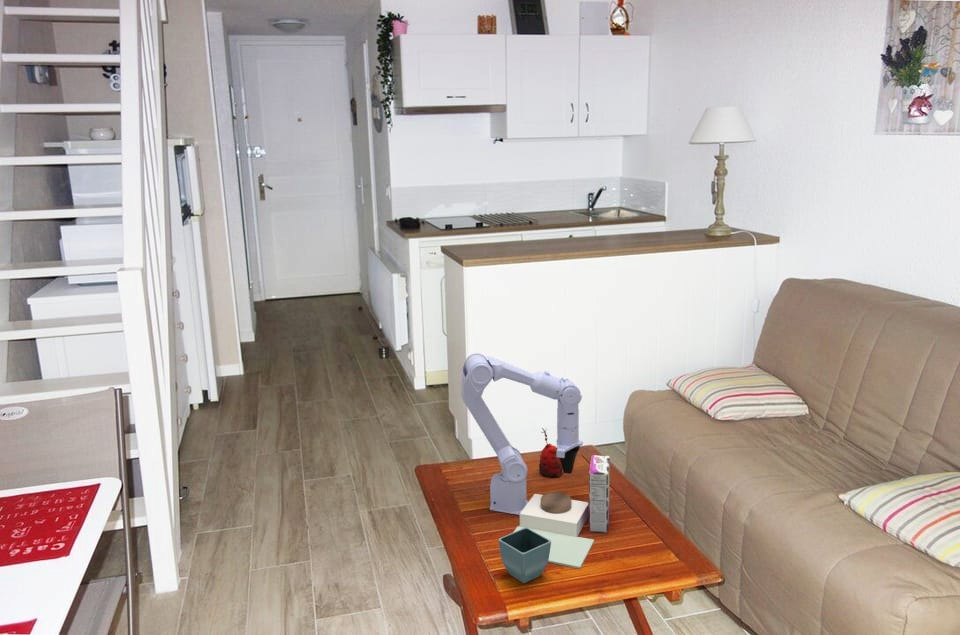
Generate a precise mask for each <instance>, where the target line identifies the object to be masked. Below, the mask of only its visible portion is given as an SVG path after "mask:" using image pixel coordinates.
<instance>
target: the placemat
mask: <svg viewBox="0 0 960 635" xmlns="http://www.w3.org/2000/svg"><path fill="white" fill-rule="evenodd" d="M522 528H525V527H522V526H520V525H517V526H516V528H515V530H514V531H513V532H515V531H518V530H520V529H522ZM526 528H527V527H526ZM529 529H531V530H532V531H534V532H536V533H538V534H540V535H541V536H543V537H545V538H547V539H549V540H551V547H550V554H549V560H548V563H549V564H555V565H559V566H564V567H570V568H575V569H578V570H579V569H581V568H582V566H583V564H584V562H585V560H586V558H587V556H588V555H589V553H590V550H591V549H592V547H593V544H594V543H595V539H592V538H587V537H580V536H578V537H576V536H571V535H565V534H560V533H554V532H549V531H544V530H538V529H533V528H529Z"/></svg>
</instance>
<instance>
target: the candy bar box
mask: <svg viewBox="0 0 960 635" xmlns="http://www.w3.org/2000/svg"><path fill="white" fill-rule="evenodd" d="M590 456H591V457H590V463H589V464H590V465H589V472H588V478H589V479H588V483H589V484H588V493H589V496H588V497H589V499H588V500H589V502H588V503H589V517H588V519H589V521H588V522H589V523H588V524H589V527H588V528H589V530H588V531H589V532H591V533H607V534H608V533H609V522H610V455H597V454H592V455H590Z"/></svg>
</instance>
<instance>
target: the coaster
mask: <svg viewBox="0 0 960 635" xmlns="http://www.w3.org/2000/svg"><path fill="white" fill-rule="evenodd" d="M542 495H543V496H542V497H541V509H542V510H544V511H545V512H548V513H553V514H561V513H565V512H568V511H569V510H570V509H571V500H572V497H571V496H570V495H568V494H566V493H563V492H557V491H556V492H553V491H552V492H548V493H545V494H542Z"/></svg>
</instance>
